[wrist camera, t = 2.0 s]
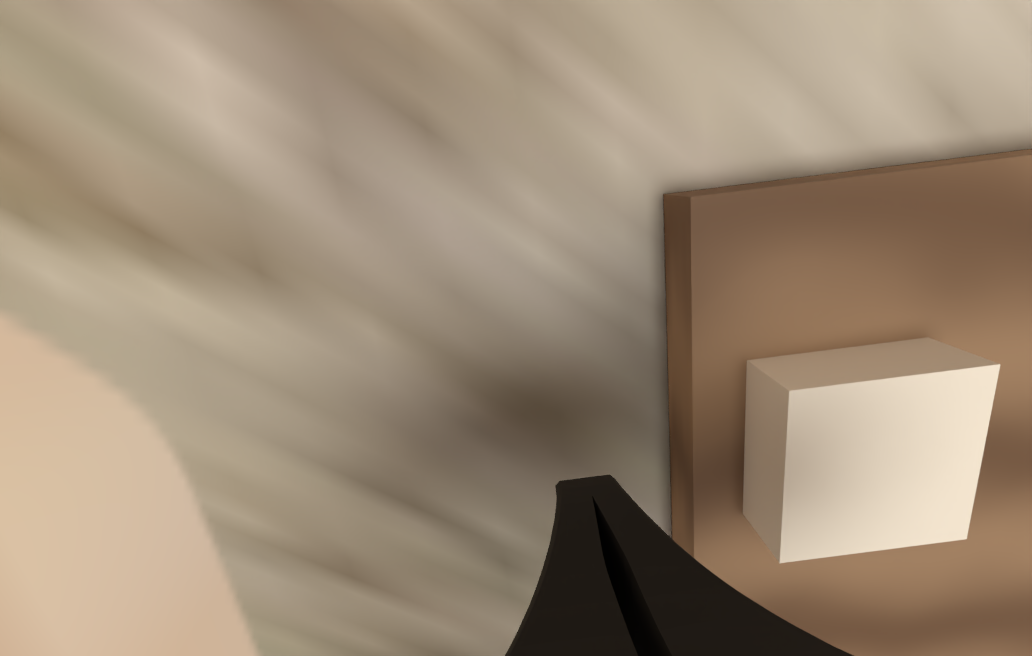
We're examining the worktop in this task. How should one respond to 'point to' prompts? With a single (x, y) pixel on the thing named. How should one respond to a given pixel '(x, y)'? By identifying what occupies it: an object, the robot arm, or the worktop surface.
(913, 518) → the block
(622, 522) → the robot arm
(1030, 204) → the board
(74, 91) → the worktop surface
